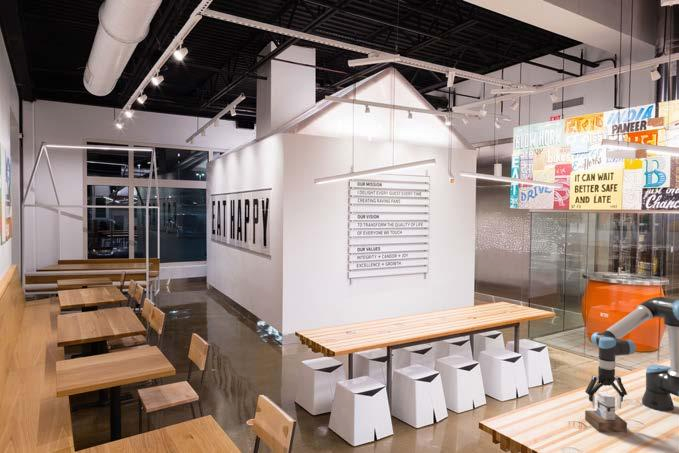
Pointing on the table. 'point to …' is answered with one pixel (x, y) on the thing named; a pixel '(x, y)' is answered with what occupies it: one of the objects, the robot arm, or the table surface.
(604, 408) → the ink box
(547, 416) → the table surface
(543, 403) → the table surface
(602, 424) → the walnut pedestal
